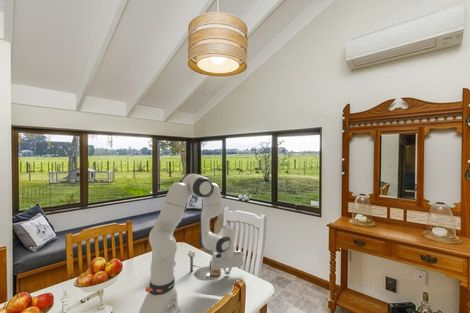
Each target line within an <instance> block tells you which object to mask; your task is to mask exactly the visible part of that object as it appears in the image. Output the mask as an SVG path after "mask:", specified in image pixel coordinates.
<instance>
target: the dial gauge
mask: <svg viewBox="0 0 470 313" xmlns="http://www.w3.org/2000/svg"><path fill="white" fill-rule="evenodd" d="M187 256H188V257H189V258H190V261H189V262H190V264H189V266H190V268H189V270H190V273H193V271H194V268H201V265H195V264H194V258H195V256H196V252H195V251H194V250H189V251H188V253H187Z"/></svg>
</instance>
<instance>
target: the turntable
mask: <svg viewBox="0 0 470 313" xmlns="http://www.w3.org/2000/svg"><path fill="white" fill-rule="evenodd" d="M210 269H211V260H210V261H209V266H203V267H198V268H197V270H195V271H194V274H193V276H194V277H195V278H196V279H197V280H199V281H202V282H209V281H214V280H217V279H218V278H220V277H221V275H220V276H218V277H212V276H210Z"/></svg>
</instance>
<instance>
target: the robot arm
mask: <svg viewBox="0 0 470 313" xmlns="http://www.w3.org/2000/svg"><path fill="white" fill-rule="evenodd" d="M191 196H196V197H198V198H201V200H202V209H201V210H200V212H199V213H200V214H199V230H200V231H199V238H198V242H199V245H200V248H201V249H204V250H209V251H212V256H211V260H210V261H211V268H212V269H221V270H222V269H223V271H224V275H230V274H231V270H232V268H238V267H239V268H240V267H243V266H244V256H245V254H244V251H241V250H235V230H234V227H232V226H229V225H222V226H221V227H220V231H219V232H218V233H214V232H212V231H211V226H210V225H211V219H213V218H215V217H217V216H219V215H220V214H221V213H222V211H223V198H222V194H221V190H220V187H219V185H218V184H217V183H215V182H212V181H211V180H210V178H208V177H206V176H203V175H201V174H199V173H193V172H190V173H186V174H185V175H184V176H182V178H181V180H179V182H178V181H177V182H174V183H172V185H171V186H170V188H169V190H168V191H167V193H166V196H165V198H164V201H163V204H162V207H161V210H160V212H159V214H158V215H159V216H158V217H157V219H156V221H155V223H154V225H153V227H152V228H151V229H150V232H149V236H148V241H149V244H150V247H151V252H152V253H151V254H152V255H151V264H150V280H149V283H148V286H146V287H145V289H144V290H145V292H146V295H145V298H144V300H143V302H142V304H141V306H140V309H139V313H178V312H179V311H180V310H181V307H180V304H179V301H178V292H177V289H176V287H175V283H176V279H175V273H174V272H175V269H174V267H175V266H174V261H175V258H176V253H177V250H178V244H177V241H176V238H175V237H174V232H175V230H176V229H177V227H178V225H179V224H180V223H181V221H182V218H183V215H184V212H185V209H186V205H187V203H188V201H189V199H190V197H191ZM226 269H228V270H226Z"/></svg>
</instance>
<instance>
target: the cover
mask: <svg viewBox="0 0 470 313" xmlns="http://www.w3.org/2000/svg"><path fill="white" fill-rule="evenodd" d="M221 275H222V268H221V269H212V268H211V269H210V276H212V277H218V276H220V277H221ZM218 278H219V277H218Z"/></svg>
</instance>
